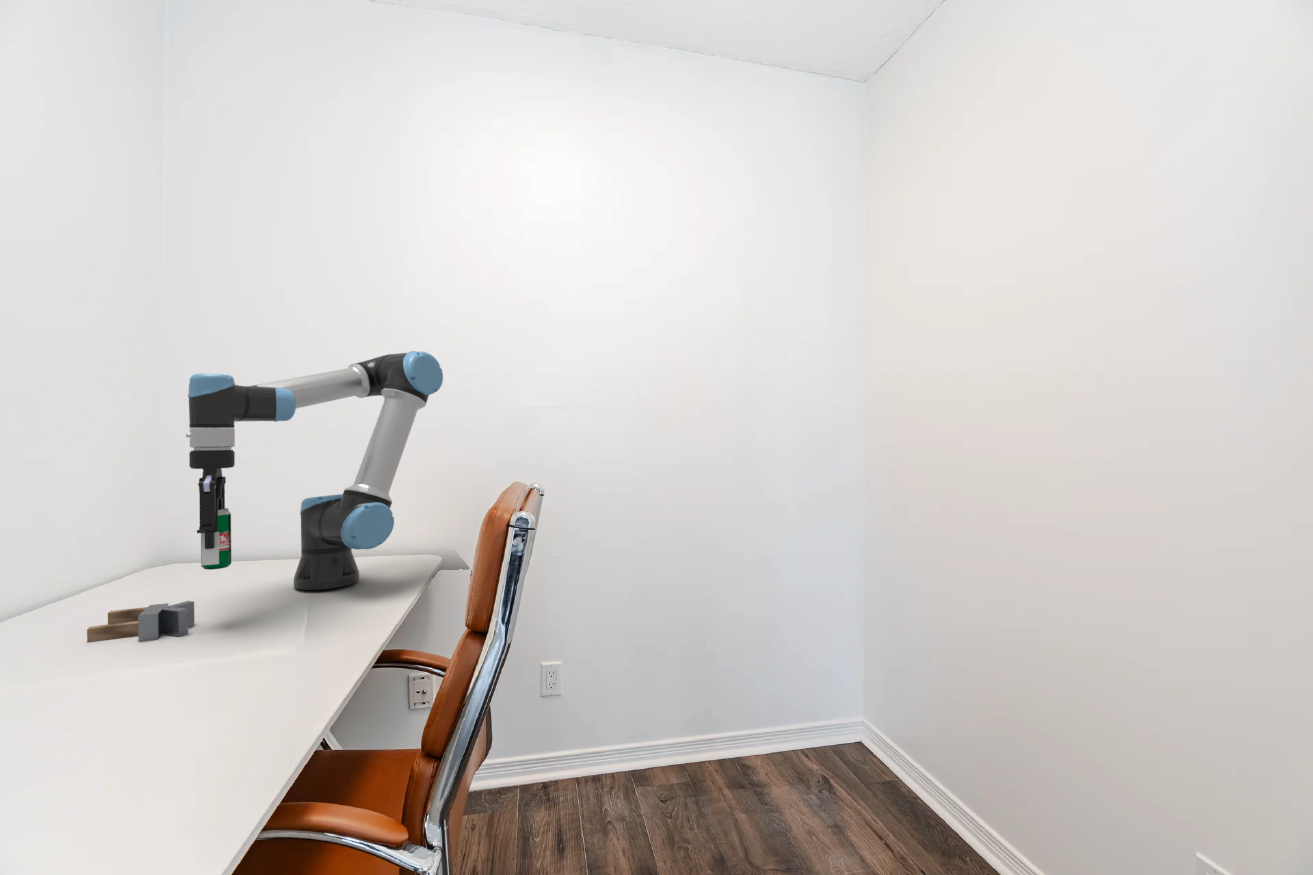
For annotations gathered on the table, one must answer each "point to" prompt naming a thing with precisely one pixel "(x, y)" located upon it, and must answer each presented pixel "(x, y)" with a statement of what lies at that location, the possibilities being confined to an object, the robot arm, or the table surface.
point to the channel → (116, 625)
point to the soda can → (222, 540)
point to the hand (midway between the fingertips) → (213, 561)
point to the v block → (165, 620)
